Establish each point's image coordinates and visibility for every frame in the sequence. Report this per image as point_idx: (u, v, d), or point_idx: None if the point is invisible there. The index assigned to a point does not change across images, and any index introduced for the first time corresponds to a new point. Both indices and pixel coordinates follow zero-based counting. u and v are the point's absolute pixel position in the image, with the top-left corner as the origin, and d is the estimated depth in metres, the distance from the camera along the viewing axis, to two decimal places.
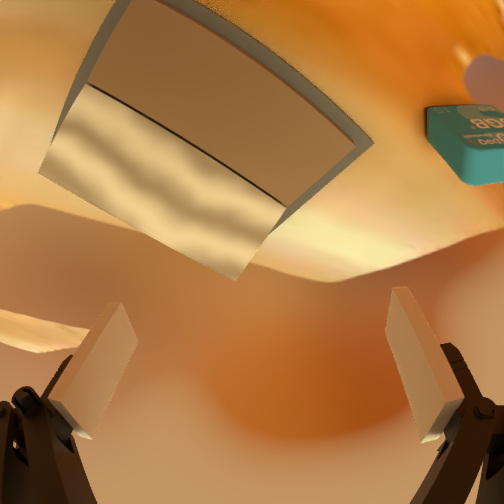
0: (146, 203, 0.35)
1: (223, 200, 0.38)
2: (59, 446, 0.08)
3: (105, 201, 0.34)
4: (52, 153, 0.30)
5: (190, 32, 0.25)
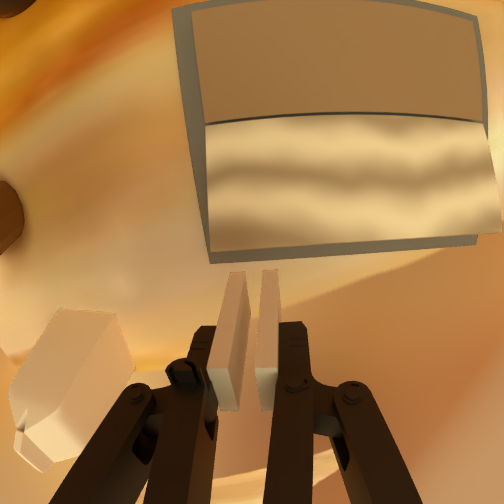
0: (369, 202, 0.26)
1: (435, 149, 0.25)
2: (203, 435, 0.08)
3: (321, 231, 0.26)
4: (217, 217, 0.28)
5: (272, 9, 0.22)
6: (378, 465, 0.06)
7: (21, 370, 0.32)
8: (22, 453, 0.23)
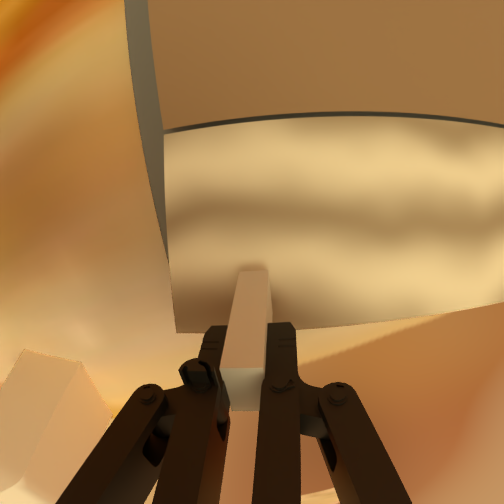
0: (417, 260, 0.16)
1: None
2: (214, 436, 0.08)
3: (343, 307, 0.17)
4: (183, 283, 0.18)
5: None
6: (365, 466, 0.06)
7: None
8: None
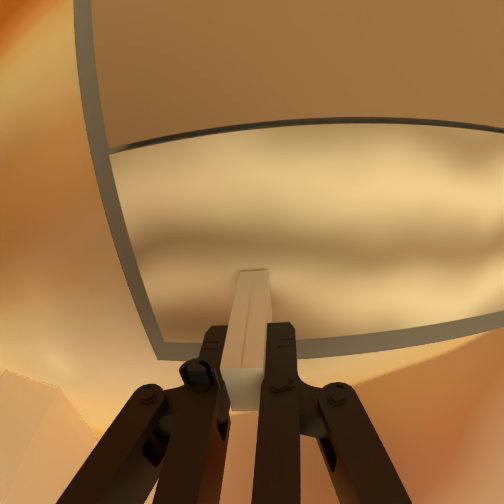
0: (400, 284, 0.16)
1: None
2: (215, 436, 0.08)
3: (319, 324, 0.17)
4: (162, 305, 0.18)
5: None
6: (365, 466, 0.06)
7: None
8: None
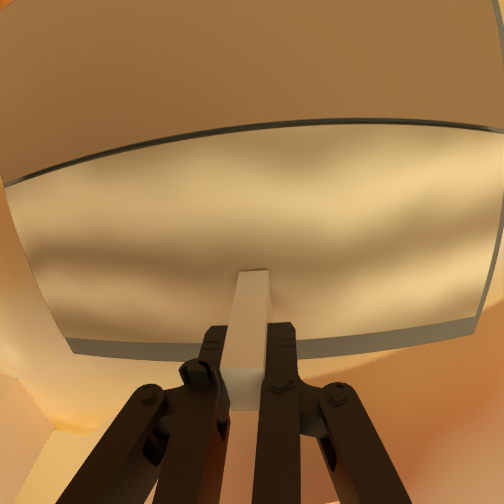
0: None
1: (389, 197, 0.14)
2: (214, 436, 0.08)
3: (171, 330, 0.18)
4: (54, 305, 0.19)
5: None
6: (365, 466, 0.06)
7: None
8: None
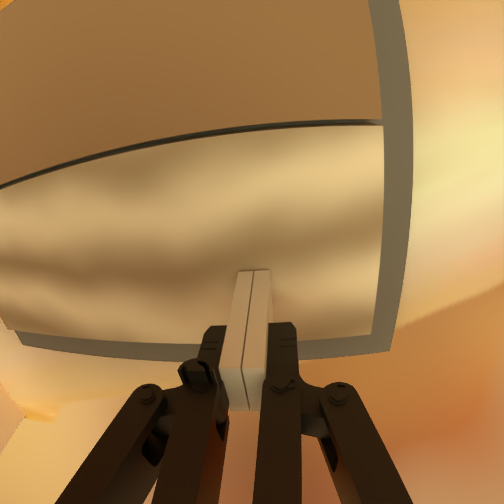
0: (113, 301, 0.18)
1: (223, 210, 0.15)
2: (214, 436, 0.08)
3: (74, 326, 0.19)
4: None
5: None
6: (366, 466, 0.06)
7: None
8: None
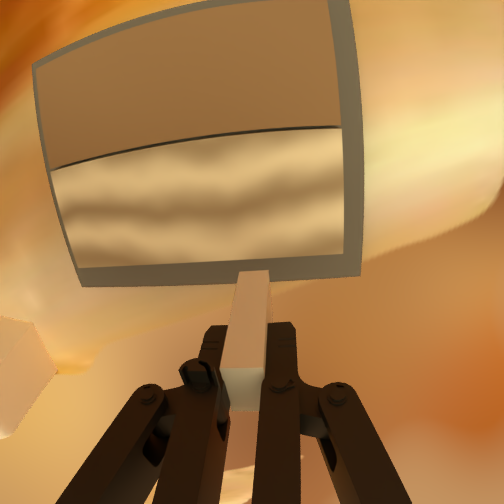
0: (181, 232, 0.30)
1: (256, 172, 0.27)
2: (214, 436, 0.08)
3: (144, 255, 0.31)
4: (75, 245, 0.32)
5: (89, 53, 0.22)
6: (365, 466, 0.06)
7: None
8: None
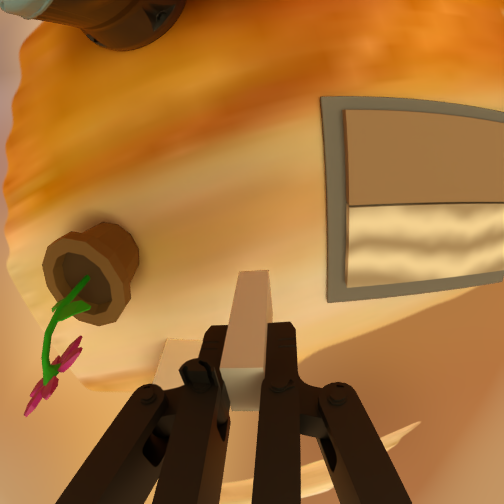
0: (438, 259, 0.40)
1: (483, 225, 0.37)
2: (214, 436, 0.08)
3: (409, 275, 0.41)
4: (353, 269, 0.42)
5: (404, 120, 0.32)
6: (365, 466, 0.06)
7: None
8: None
